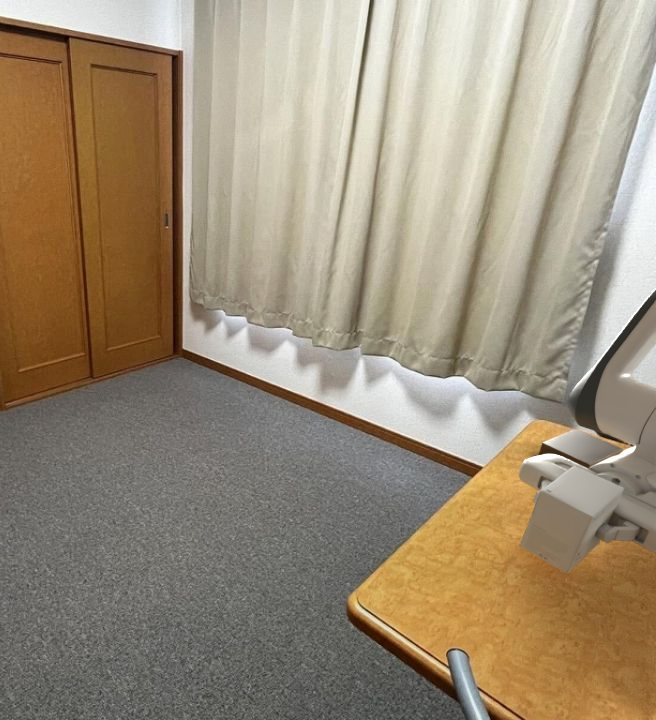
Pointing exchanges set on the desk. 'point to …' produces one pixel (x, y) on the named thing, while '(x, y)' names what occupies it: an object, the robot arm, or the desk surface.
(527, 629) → the desk surface
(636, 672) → the desk surface
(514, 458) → the desk surface
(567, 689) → the desk surface
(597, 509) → the cosmetics box
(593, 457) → the dark bridge stand
